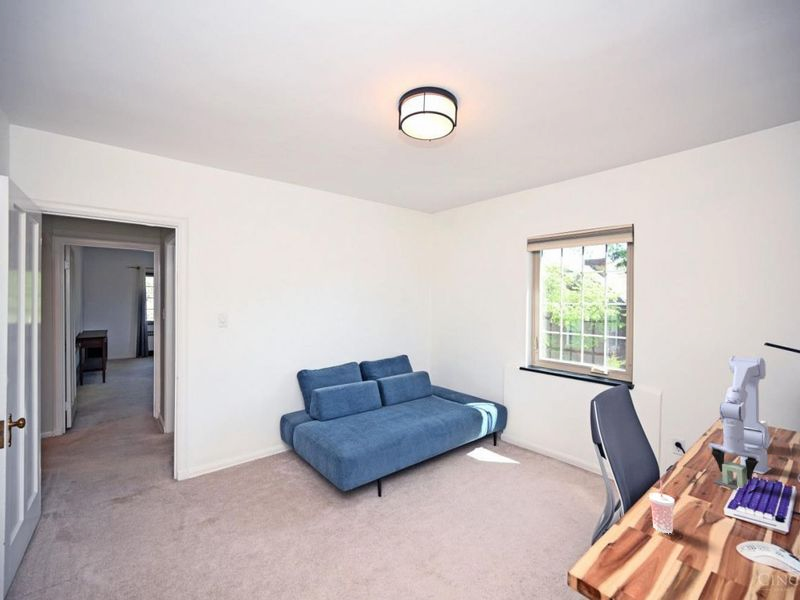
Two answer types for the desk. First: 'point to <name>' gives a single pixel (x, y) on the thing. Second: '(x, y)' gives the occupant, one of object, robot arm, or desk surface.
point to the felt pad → (731, 484)
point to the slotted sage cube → (739, 469)
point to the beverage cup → (662, 511)
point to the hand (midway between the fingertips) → (735, 474)
